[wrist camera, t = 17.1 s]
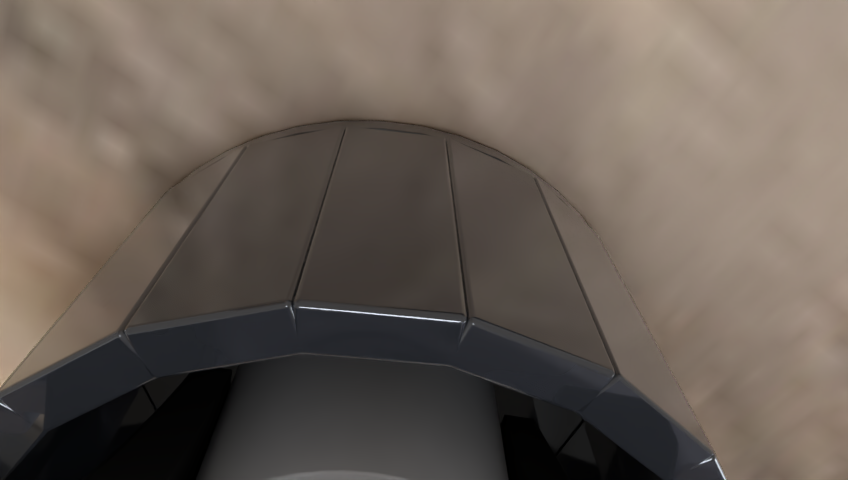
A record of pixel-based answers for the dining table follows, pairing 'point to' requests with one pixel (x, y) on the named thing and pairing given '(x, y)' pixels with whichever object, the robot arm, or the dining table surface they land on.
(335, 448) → the tape roll
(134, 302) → the pot
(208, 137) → the dining table surface
